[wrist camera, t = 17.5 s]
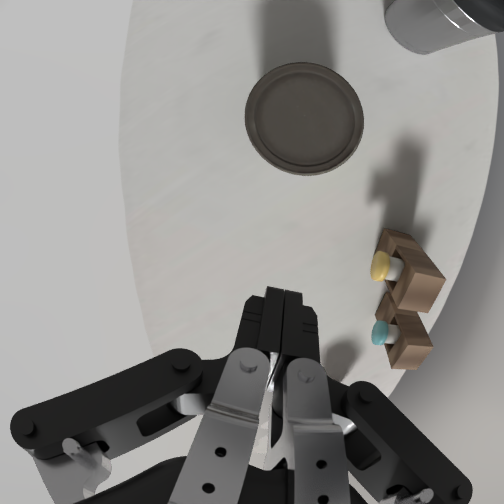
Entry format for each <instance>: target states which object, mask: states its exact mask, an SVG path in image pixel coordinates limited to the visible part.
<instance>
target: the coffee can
mask: <svg viewBox="0 0 504 504" xmlns="http://www.w3.org/2000/svg"><path fill="white" fill-rule="evenodd" d="M245 126H246V130H247V134H248V136H249V139H250V141H251V143H252V145H253V146H254V148H255V149H256V151H257V152H258V153H259V154H260V156H261V157H262V158H264V159H265V160H266V161H267V162H268V163H270V164H271V165H273V166H274V167H276V168H278V169H280V170H282V171H284V172H287V173H291V174H295V175H302V176H312V175H319V174H323V173H327V172H329V171H332V170H334V169H336V168H338V167H339V166H341V165H342V164H344V163H345V162H346V161H347V160H348V159H349V158H350V157H351V156H352V155H353V153H354V152H355V151H356V149H357V147H358V145H359V143H360V141H361V138H362V134H363V129H364V116H363V110H362V106H361V103H360V100H359V98H358V96H357V94H356V92H355V91H354V89H353V88H352V87H351V85H350V84H349V83H348V82H347V81H346V80H345V79H344V78H343V77H342V76H340V75H339V74H337V73H336V72H334V71H333V70H331V69H329V68H327V67H324V66H321V65H318V64H314V63H307V62H298V63H290V64H286V65H282V66H279V67H277V68H275V69H273V70H271V71H270V72H268V73H267V74H265V75H264V76H263V77H262V78H261V79H260V80H259V81H258V82H257V83H256V85H255V86H254V87H253V89H252V91H251V92H250V94H249V97H248V100H247V103H246V107H245Z"/></svg>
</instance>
